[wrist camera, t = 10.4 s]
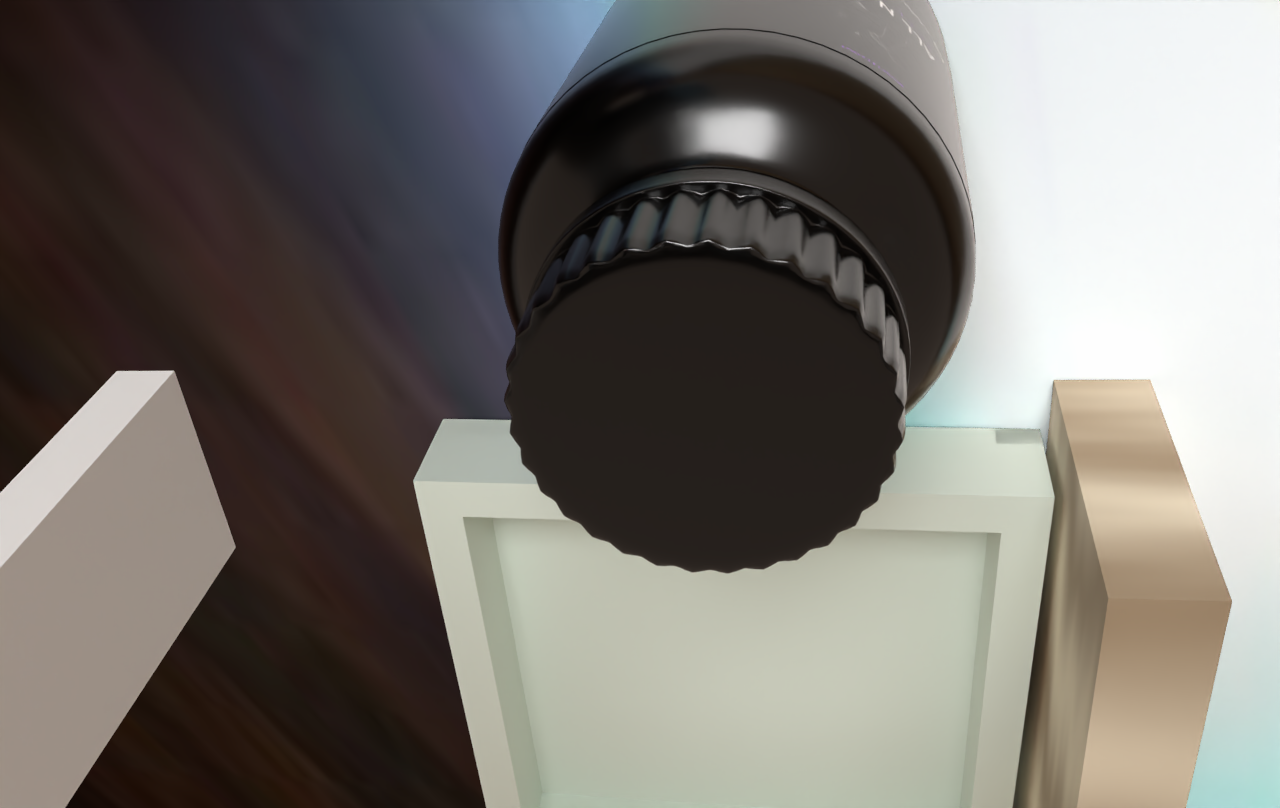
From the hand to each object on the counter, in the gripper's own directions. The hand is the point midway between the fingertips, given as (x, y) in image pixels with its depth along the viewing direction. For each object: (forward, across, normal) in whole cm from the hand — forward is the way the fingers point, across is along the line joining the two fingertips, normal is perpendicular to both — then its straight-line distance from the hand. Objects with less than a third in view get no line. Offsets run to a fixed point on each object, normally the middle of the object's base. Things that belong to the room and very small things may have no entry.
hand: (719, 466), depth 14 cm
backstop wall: (+12, +7, -14) cm, 20 cm away
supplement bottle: (+12, 0, 0) cm, 13 cm away
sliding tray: (+12, -2, -15) cm, 19 cm away
